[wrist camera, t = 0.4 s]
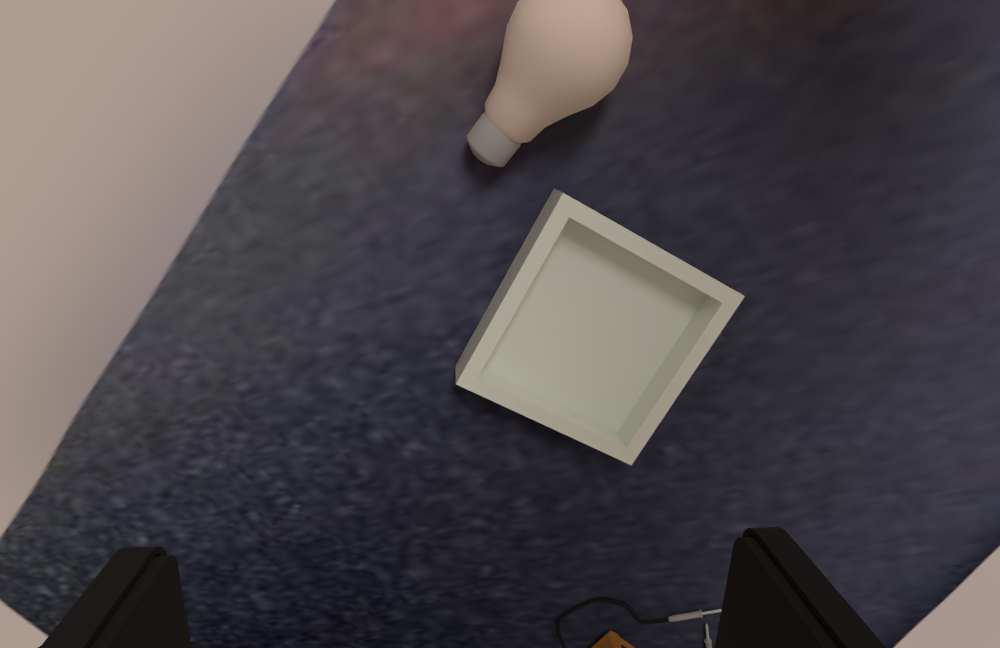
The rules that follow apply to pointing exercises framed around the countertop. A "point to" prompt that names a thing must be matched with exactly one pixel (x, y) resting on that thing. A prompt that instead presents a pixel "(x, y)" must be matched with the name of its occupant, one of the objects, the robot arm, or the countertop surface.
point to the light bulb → (550, 70)
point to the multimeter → (612, 644)
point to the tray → (594, 330)
